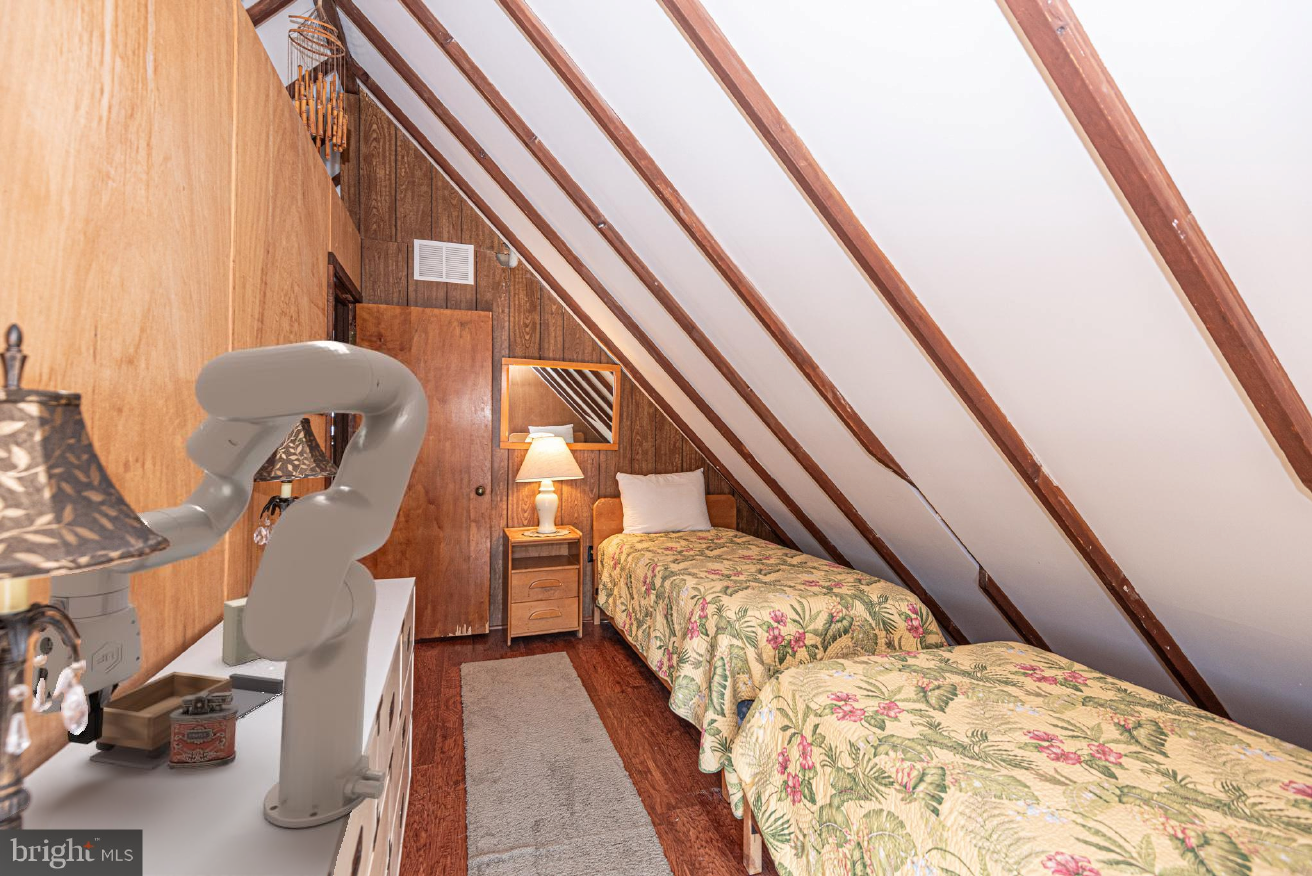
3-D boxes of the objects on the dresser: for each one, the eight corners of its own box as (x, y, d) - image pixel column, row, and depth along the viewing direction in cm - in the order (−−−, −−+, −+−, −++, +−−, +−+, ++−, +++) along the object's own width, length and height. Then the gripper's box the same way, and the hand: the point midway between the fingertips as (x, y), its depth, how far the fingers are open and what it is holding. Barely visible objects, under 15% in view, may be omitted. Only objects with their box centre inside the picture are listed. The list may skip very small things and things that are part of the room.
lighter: (162, 772, 79) (165, 701, 79) (175, 758, 82) (178, 690, 82) (229, 766, 81) (232, 697, 81) (240, 753, 85) (243, 686, 84)
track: (282, 693, 103) (283, 679, 103) (151, 769, 80) (151, 752, 80) (233, 686, 104) (234, 673, 104) (89, 760, 81) (90, 742, 81)
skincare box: (255, 651, 120) (257, 594, 119) (265, 657, 117) (268, 598, 117) (220, 661, 114) (222, 601, 114) (230, 667, 112) (233, 606, 112)
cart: (230, 720, 92) (232, 679, 92) (151, 765, 79) (153, 718, 79) (172, 712, 93) (174, 671, 93) (85, 755, 81) (87, 708, 81)
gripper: (47, 624, 67) (41, 778, 68) (170, 590, 82) (165, 715, 82) (-6, 618, 68) (-12, 769, 69) (125, 585, 83) (120, 709, 83)
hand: (85, 739), depth 76 cm, fingers closed
